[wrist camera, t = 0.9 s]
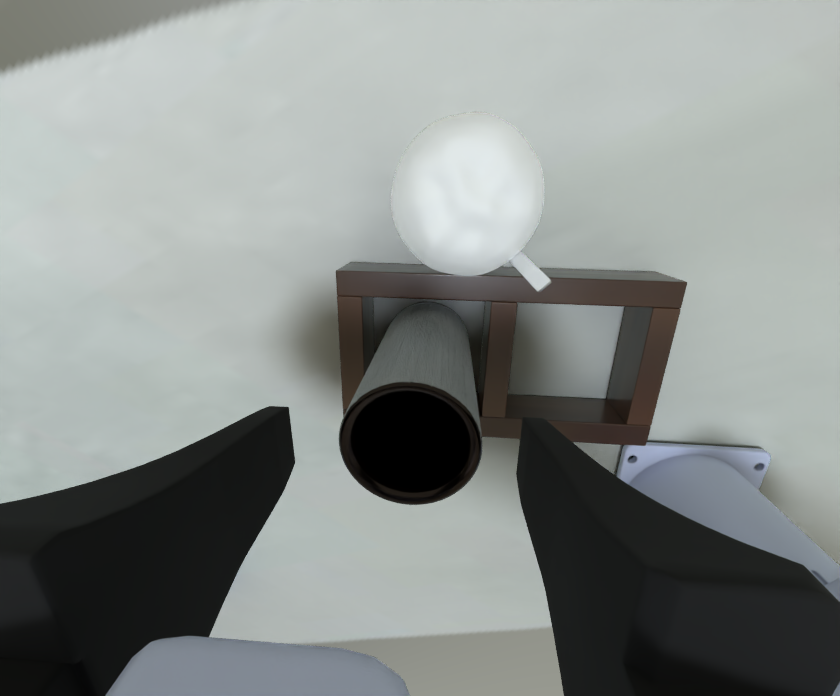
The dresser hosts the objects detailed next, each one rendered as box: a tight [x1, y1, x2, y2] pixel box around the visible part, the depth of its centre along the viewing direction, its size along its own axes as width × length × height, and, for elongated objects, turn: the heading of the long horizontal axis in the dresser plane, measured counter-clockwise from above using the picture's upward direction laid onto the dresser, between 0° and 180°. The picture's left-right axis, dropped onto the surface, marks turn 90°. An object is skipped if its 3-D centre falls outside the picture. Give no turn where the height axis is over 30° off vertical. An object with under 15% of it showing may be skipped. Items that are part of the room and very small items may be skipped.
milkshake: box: [391, 112, 551, 292], centre depth 15 cm, size 4×5×10 cm
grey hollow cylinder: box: [339, 302, 482, 505], centre depth 17 cm, size 4×4×10 cm
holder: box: [336, 262, 687, 446], centre depth 20 cm, size 8×16×3 cm, turn 89°
